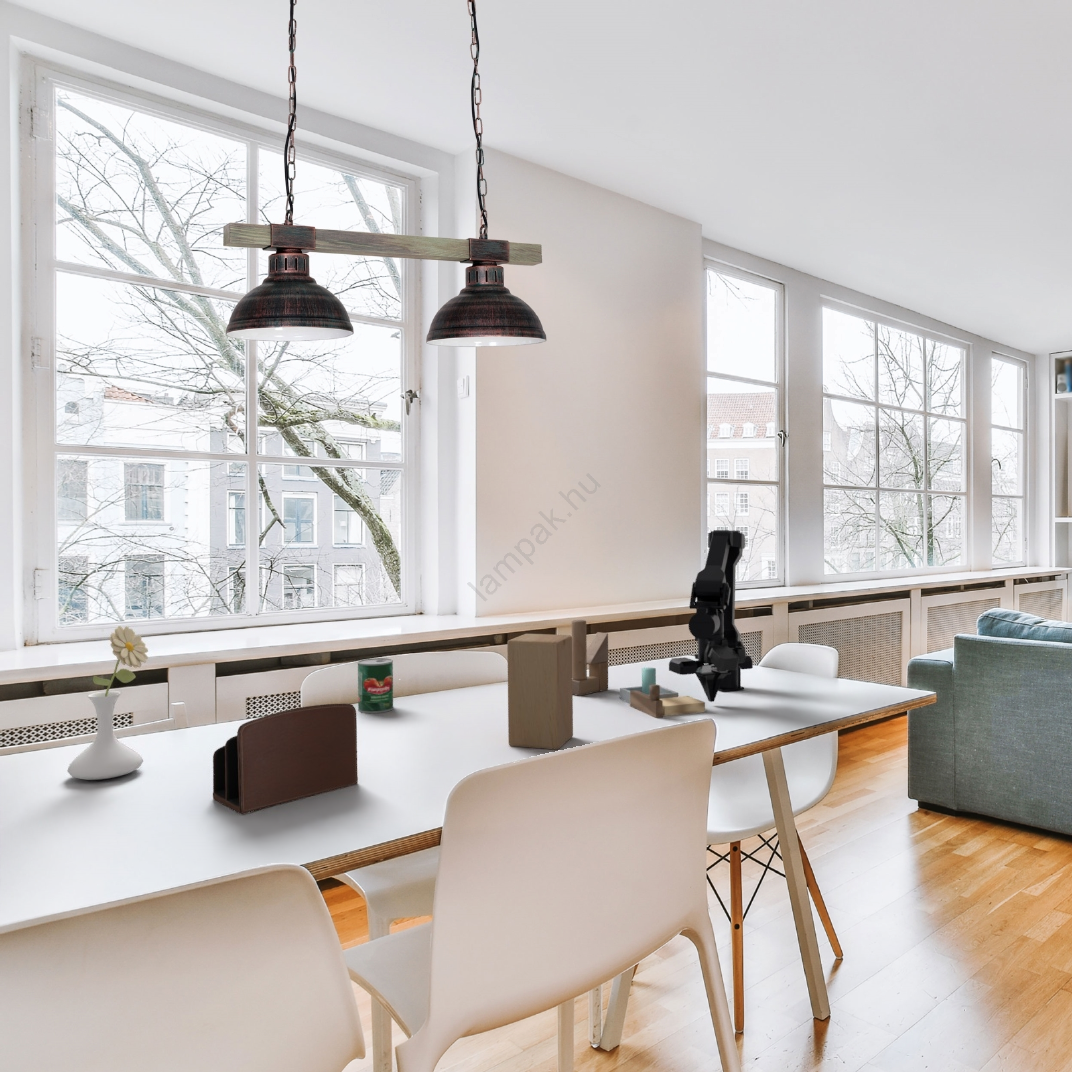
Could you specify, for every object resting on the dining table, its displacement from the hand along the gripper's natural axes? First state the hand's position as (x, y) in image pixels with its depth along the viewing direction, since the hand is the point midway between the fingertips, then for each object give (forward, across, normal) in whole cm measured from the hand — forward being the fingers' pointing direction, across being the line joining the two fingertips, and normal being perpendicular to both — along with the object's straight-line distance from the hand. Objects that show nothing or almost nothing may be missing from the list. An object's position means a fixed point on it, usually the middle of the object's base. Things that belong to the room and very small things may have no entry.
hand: (711, 701), depth 186 cm
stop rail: (+1, -16, 0) cm, 16 cm away
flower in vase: (0, -121, -6) cm, 121 cm away
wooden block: (+1, -46, -14) cm, 48 cm away
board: (+1, -9, -1) cm, 9 cm away
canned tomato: (+1, -72, +26) cm, 76 cm away
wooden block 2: (+1, -20, +24) cm, 31 cm away
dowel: (0, -11, +10) cm, 14 cm away
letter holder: (0, -93, -27) cm, 97 cm away
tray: (+1, -11, +10) cm, 15 cm away
